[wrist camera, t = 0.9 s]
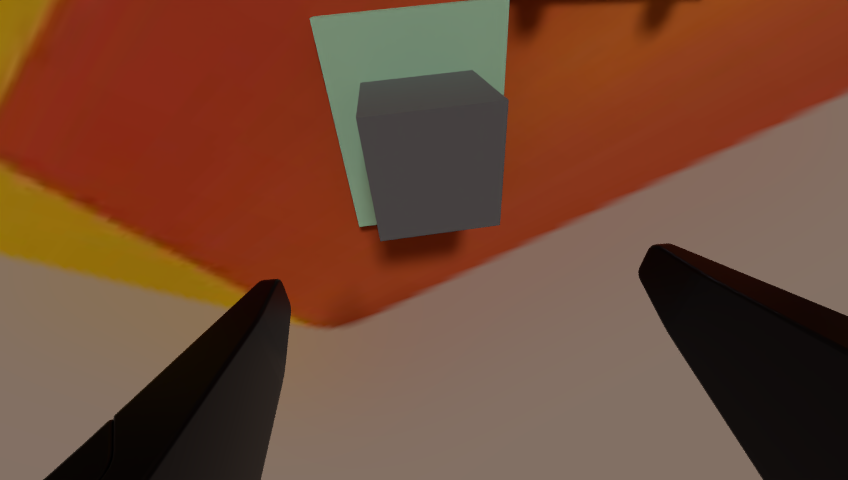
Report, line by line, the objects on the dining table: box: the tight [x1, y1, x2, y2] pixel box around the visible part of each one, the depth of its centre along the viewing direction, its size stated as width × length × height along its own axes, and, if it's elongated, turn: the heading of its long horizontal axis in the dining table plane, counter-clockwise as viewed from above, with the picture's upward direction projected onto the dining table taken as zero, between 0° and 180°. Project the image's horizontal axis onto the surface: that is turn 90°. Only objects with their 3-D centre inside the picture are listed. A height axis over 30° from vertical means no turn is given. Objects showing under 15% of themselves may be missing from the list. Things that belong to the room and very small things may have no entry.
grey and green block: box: [310, 0, 510, 241], centre depth 15 cm, size 8×10×6 cm
